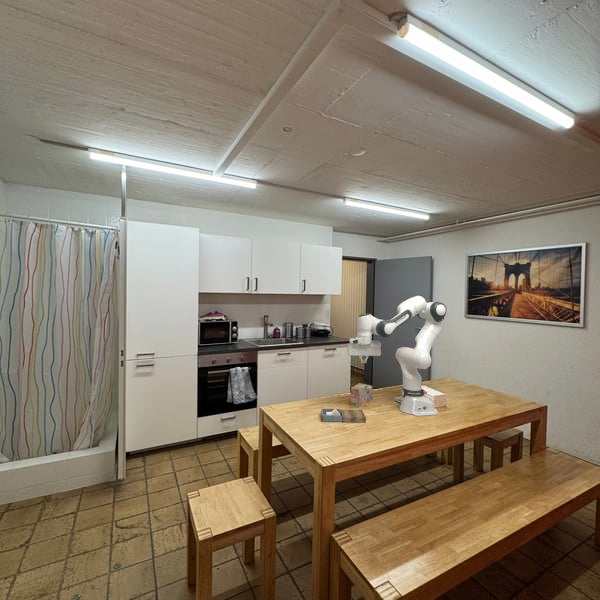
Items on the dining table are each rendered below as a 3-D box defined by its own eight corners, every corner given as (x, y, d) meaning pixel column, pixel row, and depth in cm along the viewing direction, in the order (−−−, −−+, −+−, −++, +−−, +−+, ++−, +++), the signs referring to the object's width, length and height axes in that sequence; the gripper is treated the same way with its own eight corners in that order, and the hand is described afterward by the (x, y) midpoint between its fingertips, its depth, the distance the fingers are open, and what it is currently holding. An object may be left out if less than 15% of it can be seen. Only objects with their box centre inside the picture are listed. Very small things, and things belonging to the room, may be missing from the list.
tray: (339, 414, 188) (339, 408, 188) (342, 422, 177) (342, 416, 176) (321, 414, 188) (321, 408, 188) (322, 422, 177) (322, 415, 176)
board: (361, 414, 188) (361, 409, 188) (365, 423, 176) (365, 417, 176) (340, 414, 188) (340, 409, 188) (342, 422, 176) (343, 417, 176)
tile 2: (336, 416, 184) (339, 413, 184) (337, 418, 180) (340, 415, 180) (332, 411, 184) (335, 408, 184) (332, 413, 180) (336, 410, 180)
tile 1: (325, 411, 184) (325, 416, 184) (326, 414, 180) (326, 418, 180) (332, 411, 184) (332, 416, 184) (333, 414, 180) (333, 418, 180)
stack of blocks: (364, 397, 220) (364, 380, 219) (372, 399, 216) (372, 381, 216) (350, 406, 202) (350, 387, 202) (359, 408, 199) (359, 389, 198)
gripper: (379, 339, 192) (379, 361, 192) (346, 339, 192) (346, 361, 192) (382, 341, 186) (382, 364, 186) (348, 340, 186) (347, 363, 186)
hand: (363, 362), depth 189 cm, fingers closed
